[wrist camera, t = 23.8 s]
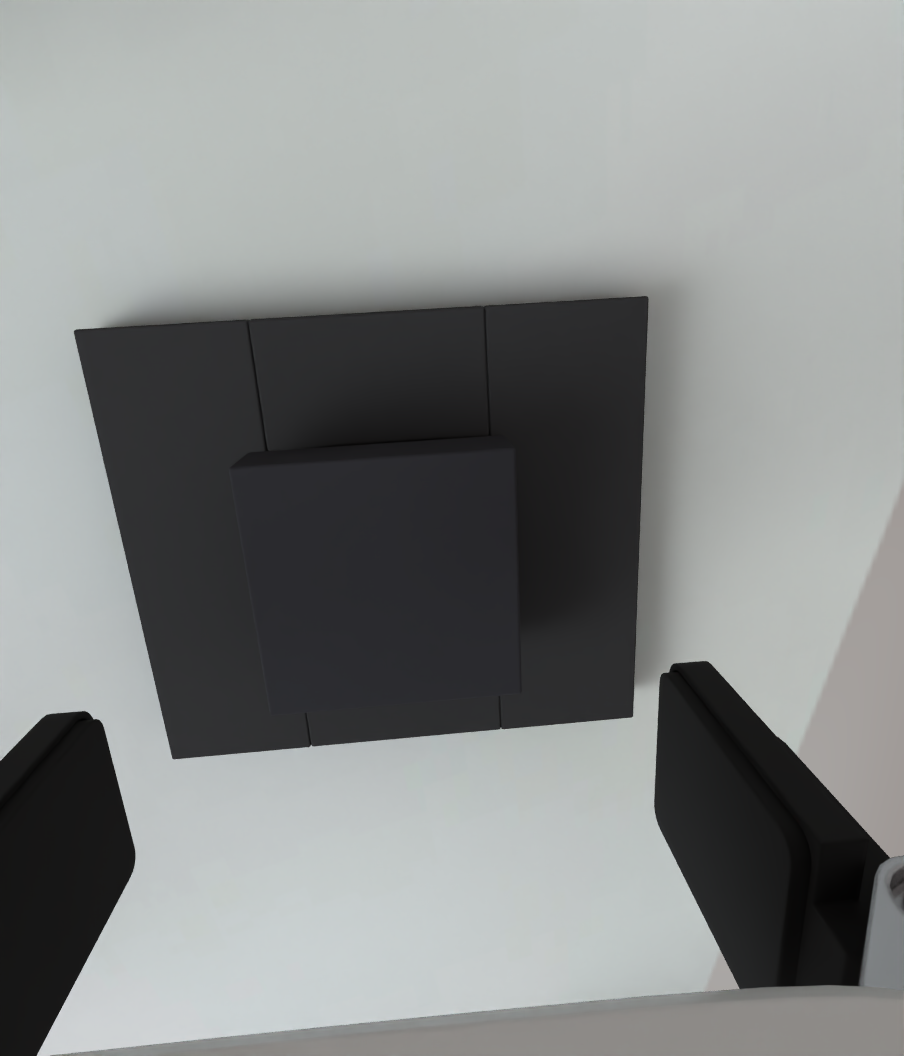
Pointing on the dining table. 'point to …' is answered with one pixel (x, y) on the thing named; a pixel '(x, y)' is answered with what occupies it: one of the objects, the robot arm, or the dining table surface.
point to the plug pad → (382, 571)
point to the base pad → (373, 418)
